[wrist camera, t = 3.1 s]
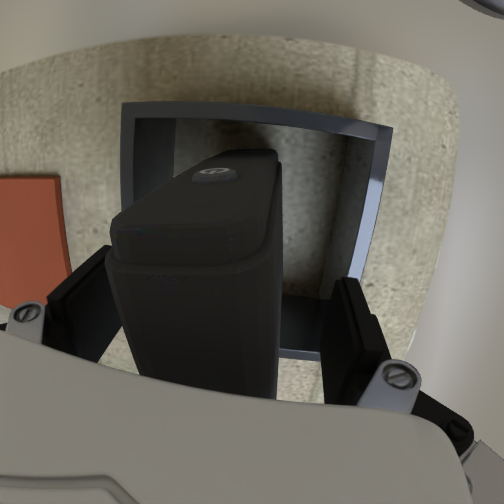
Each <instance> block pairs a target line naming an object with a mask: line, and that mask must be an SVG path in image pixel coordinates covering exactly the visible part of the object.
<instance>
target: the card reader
mask: <svg viewBox="0 0 504 504" xmlns="http://www.w3.org/2000/svg"><path fill="white" fill-rule="evenodd" d="M110 238H111V242H112V247H111V249H110V250H109V251H108V252H107V254H106V256H105V267H106V271H107V275H108V279H109V283H110V286H111V290H112V293H113V297H114V300H115V304H116V307H117V310H118V314H119V317H120V320H121V323H122V326H123V329H124V332H125V335H126V338H127V341H128V344H129V347H130V350H131V353H132V355H133V358H134V361H135V364H136V366H137V369H138V371H139V374H140V375H142V376H146V377H150V378H154V379H158V380H162V381H167V382H171V383H176V384H181V385H185V386H190V387H196V388H201V389H206V390H212V391H218V392H223V393H230V394H236V395H243V396H250V397H257V398H265V399H274V400H276V396H277V379H278V362H279V343H280V323H281V300H282V274H283V222H282V164H281V163H280V162H278V154H277V152H276V151H275V150H273V149H268V148H255V149H234V150H228V151H225V152H223V153H220V154H218V155H216V156H214V157H211V158H209V159H207V160H205V161H203V162H201V163H199V164H197V165H196V166H194V167H192V168H190V169H189V170H187V171H185V172H183V173H182V174H180V175H178V176H177V177H175V178H173V179H172V180H170V181H168V182H167V183H165V184H163V185H162V186H160V187H158V188H157V189H155V190H153V191H152V192H150V193H149V194H147V195H145V196H144V197H142V198H141V199H139V200H138V201H136V202H135V203H133V204H132V205H130V206H129V207H127V208H126V209H124V210H123V211H122V212H120V213H119V214H118V215H116V216H115V217H114V218H113V219H112V222H111V227H110Z"/></svg>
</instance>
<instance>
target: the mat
mask: <svg viewBox="0 0 504 504" xmlns="http://www.w3.org/2000/svg"><path fill="white" fill-rule="evenodd" d="M71 273H72V271H71V265H70V259H69V253H68V247H67V240H66V233H65V226H64V217H63V208H62V198H61V185H60V177H0V305H2V306H5V307H7V308H10V309H14V308H15V307H16V306H17V305H19V304H21V303H23V302H26V301H39V302H41V303H43V304H44V306H45V305H46V304H47V303H48V302H47V299H46V296H47V295H48V294H50V293H51V292H52V291H53V290H54V289H55V288H56V287H57V286H58V285H59V284H60V283H61V282H63V281H64V280H65V279H66V278H67V277H68V276H69V275H70V274H71Z"/></svg>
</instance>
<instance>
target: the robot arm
mask: <svg viewBox="0 0 504 504" xmlns="http://www.w3.org/2000/svg"><path fill="white" fill-rule="evenodd" d="M111 247H112V246H110V245H104V246H103V247H102V248H100V249H99V250H98V251H97V252H96V253H94V254H93V255H92V256H91V257H90V258H89V259H87V260H86V261H85V262H84V263H83V264H82V265H81V266H79V267H78V268H77V269H76V270H75V271H74V272H73V273H71V274H70V275H69V276H68V277H67V278H66V279H65V280H64V281H63V282H61V283H60V284H59V285H58V286H57V287H56V288H55V289H54V290H53V291H52V292H51V293H50V294H48V295H47V296H46V299H47V302H48V303H47V304H46V305H45V306H44V304H43V303H41V302H39V301H26V302H23V303H21V304H19V305H17V306H16V307H15V308H14V309H13V310H12V311H11V313H10V316H9V319H8V323H4V324H0V504H504V459H503V458H502V457H500V456H499V455H498V454H497V453H495V452H494V451H493V450H492V449H491V448H490V447H488V446H487V445H486V444H485V443H484V442H482V441H481V440H479V441H478V442H476V441H475V440H474V431H473V429H472V426H471V425H470V424H469V422H468V421H467V420H466V419H464V418H463V417H462V416H460V415H458V414H457V413H455V412H454V411H452V410H450V409H449V408H447V407H446V406H444V405H443V404H441V403H439V402H438V401H436V400H435V399H433V398H431V397H430V396H428V395H427V394H425V393H424V392H422V391H420V390H419V389H420V386H421V376H420V374H419V372H418V371H417V369H416V368H415V367H413V366H412V365H411V364H409V363H407V362H405V361H402V360H397V359H392V358H391V355H390V353H389V350H388V347H387V344H386V341H385V338H384V335H383V333H382V330H381V327H380V325H379V322H378V319H377V317H376V315H374V314H371V313H370V310H369V307H368V305H367V302H366V299H365V297H364V294H363V291H362V289H361V286H360V283H359V281H358V279H357V278H353V277H344V276H342V277H341V279H340V280H336V281H335V284H334V288H333V292H332V296H331V300H330V303H329V307H328V311H327V315H326V318H325V322H324V326H323V329H322V333H321V336H320V342H319V348H320V358H321V368H322V379H323V390H324V403H325V404H317V403H304V402H293V401H283V400H274V399H265V398H257V397H250V396H243V395H236V394H230V393H223V392H218V391H212V390H206V389H201V388H196V387H190V386H185V385H181V384H176V383H171V382H167V381H162V380H158V379H154V378H150V377H146V376H142V375H138V374H134V373H130V372H126V371H123V370H119V369H115V368H112V367H108V366H105V365H101V364H98V361H99V359H100V358H101V356H102V355H103V353H104V352H105V350H106V349H107V347H108V346H109V344H110V343H111V341H112V340H113V338H114V337H115V335H116V334H117V332H118V331H119V330H120V328H121V327H122V323H121V320H120V317H119V314H118V310H117V307H116V304H115V300H114V297H113V293H112V290H111V286H110V283H109V279H108V275H107V271H106V267H105V256H106V254H107V252H108V251H109V250H110V249H111Z"/></svg>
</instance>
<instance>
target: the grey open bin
mask: <svg viewBox="0 0 504 504" xmlns="http://www.w3.org/2000/svg"><path fill="white" fill-rule="evenodd" d="M176 118H191V119H213V120H229V121H242V122H254V123H264V124H273V125H282V126H290V127H297V128H305V129H311V130H318V131H324V132H330V133H336V134H342V135H347V136H348V143H347V150H346V157H345V163H344V170H343V176H342V182H341V188H340V194H339V199H338V205H337V210H336V216H335V221H334V226H333V231H332V236H331V241H330V246H329V251H328V256H327V260H326V265H325V270H324V274H323V278H322V283H321V287H320V292H319V296H318V299H317V298H308V297H299V296H291V295H283V294H282V300H281V323H280V343H279V358H288V359H298V360H308V361H320V362H321V358H320V348H319V342H320V336H321V333H322V329H323V326H324V322H325V318H326V315H327V311H328V307H329V303H330V300H331V296H332V292H333V288H334V284H335V281H336V280H340V279H341V277H342V276H344V277H353V278H357V279H358V281H359V283H360V281H361V278H362V274H363V270H364V267H365V263H366V259H367V255H368V252H369V248H370V244H371V240H372V236H373V231H374V227H375V223H376V219H377V214H378V210H379V205H380V200H381V195H382V190H383V185H384V180H385V175H386V170H387V164H388V158H389V152H390V146H391V140H392V133H393V128H392V127H389V126H384V125H380V124H376V123H371V122H366V121H362V120H357V119H352V118H347V117H341V116H336V115H330V114H324V113H318V112H311V111H304V110H297V109H289V108H281V107H272V106H262V105H251V104H238V103H222V102H196V101H152V102H126V103H122V109H121V134H120V186H121V212H122V211H123V210H124V209H126V208H127V207H129V206H130V205H132V204H133V203H135V202H136V201H138V200H139V199H141V198H142V197H144V196H145V195H147V194H149V193H150V192H152V191H153V190H155V189H157V188H158V187H160V186H162V185H163V184H165V183H167V182H168V181H170V180H172V179H173V161H174V138H175V121H176Z"/></svg>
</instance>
